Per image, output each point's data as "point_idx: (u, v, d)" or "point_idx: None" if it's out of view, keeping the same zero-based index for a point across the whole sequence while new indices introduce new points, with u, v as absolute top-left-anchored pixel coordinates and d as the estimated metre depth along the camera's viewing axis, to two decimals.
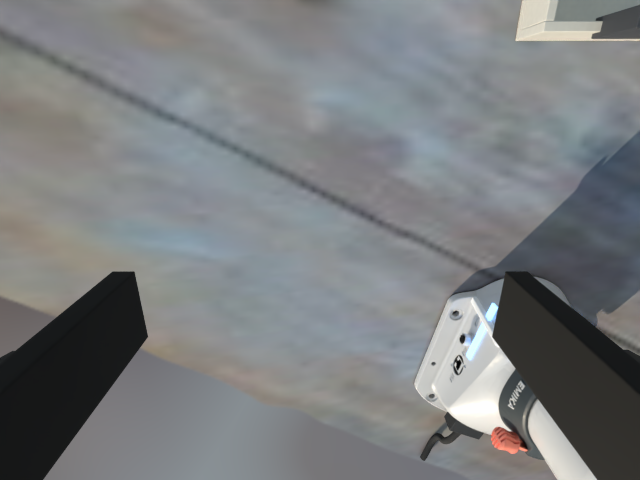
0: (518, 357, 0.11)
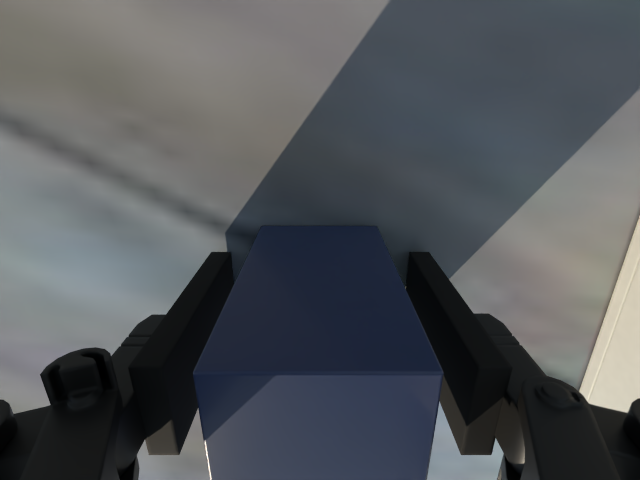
0: None
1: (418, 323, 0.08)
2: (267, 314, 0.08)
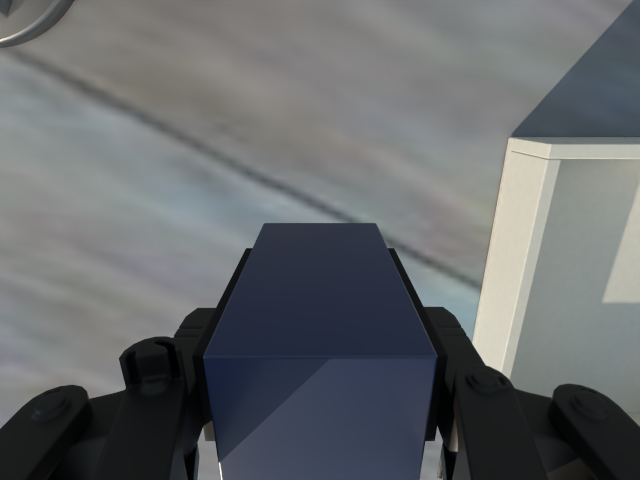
0: None
1: (414, 312, 0.08)
2: (272, 304, 0.08)
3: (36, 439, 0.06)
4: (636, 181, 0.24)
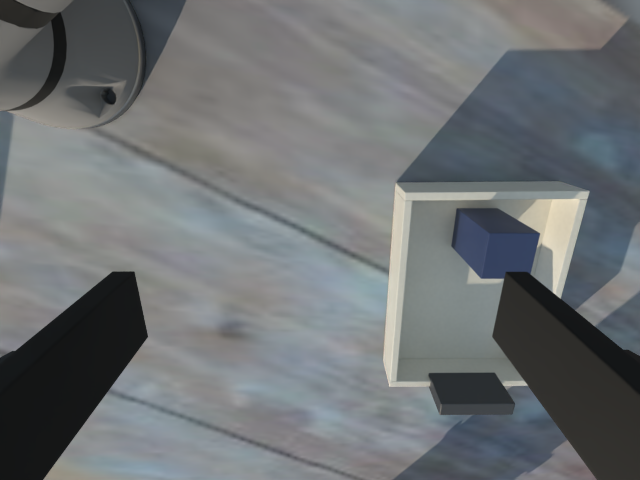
0: (518, 357, 0.11)
1: None
2: (492, 226, 0.33)
3: None
4: None
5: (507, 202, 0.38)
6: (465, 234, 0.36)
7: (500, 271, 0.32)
